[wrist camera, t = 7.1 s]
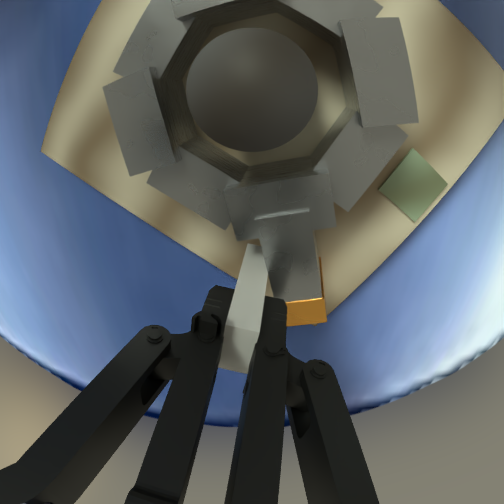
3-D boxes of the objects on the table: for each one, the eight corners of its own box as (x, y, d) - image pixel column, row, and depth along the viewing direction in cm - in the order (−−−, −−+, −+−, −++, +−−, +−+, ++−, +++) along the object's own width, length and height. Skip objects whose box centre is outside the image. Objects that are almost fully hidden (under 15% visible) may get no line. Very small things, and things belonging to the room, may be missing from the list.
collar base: (53, 146, 19) (-8, 173, 14) (202, -108, 9) (169, -154, 3) (314, 312, 24) (315, 380, 18) (508, 91, 13) (571, 106, 7)
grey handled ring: (124, 22, 13) (82, 13, 9) (355, -36, 10) (371, -66, 6) (207, 291, 21) (191, 333, 18) (402, 266, 18) (420, 308, 15)
